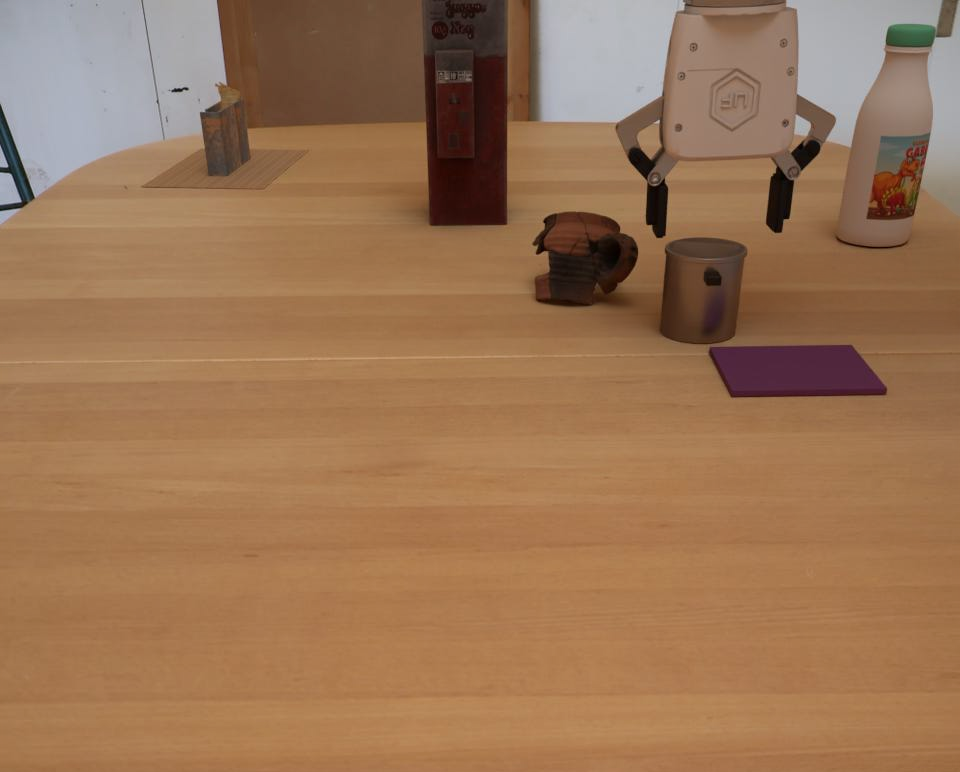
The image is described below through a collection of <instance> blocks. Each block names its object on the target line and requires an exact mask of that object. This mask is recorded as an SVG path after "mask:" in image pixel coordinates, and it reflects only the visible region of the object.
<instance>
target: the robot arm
mask: <svg viewBox="0 0 960 772" xmlns="http://www.w3.org/2000/svg"><path fill="white" fill-rule="evenodd" d="M682 2H683V3H684V4H683V5H684V6H683V7H684V8H683V10H677V11H676V12H675V14H674V18H673V24H672V27H671V31H670V36H669V42H668V46H667V53H666V59H665V67H664V74H663V81H662V92H661V95H660V96H658V97H657V98H656V99H654V100H652V101H650V102H649V103H647V104H646V105H644V106H643V107H641V108H639V109H638V110H636V111H634V112H633V113H631V114H629V115H627V116H625V118H623V119H621V120H619V121H618V122H617V123H616V124H615V127H614V128H615V129H614V130H615V133H616V135H617V137H618V139H619V142H620V145H621V147H622V149H623V151H624V153H625V155H626V158H627V160H628V161H629V163H630V164H631V166H633V168H634V169H635V170H636V171H637V172H638V173H639V174H640V175H641V176H642V178H644V180H646V200H645V201H646V203H645V224H646V226H651V230H652V233H653V234H654V236H655V238H656V239H664V237H666V234H667V220H668V218H667V217H668V203H669V201H668V200H669V186H668V185H667V184H666V177H667V176H668V175H669V174H670V172H671V171H672V170H673V168H674V167H675V166H676V165H677V164H678V162H679V161H680V162H714V161H715V162H716V161H717V162H718V161H739V160H740V161H742V160H758V159H759V160H761V159H771V161H772V162H773V164H774V166H775V172H774V173H772V175H771V176H770V180H769V187H768V188H769V189H768V199H767V206H766V216H765V224H766V226H767V227H768V228H769V230H770V231H771V232H773V233H774V234H782V232H783V229H784V221H785V220H789V219H790V218H791V211H792V203H793V194H794V187H795V186H794V185H795V181H796V180H797V179H798V178H799V177H800V176H801V172H802V171H803V170H804V169H805V168H807V166H808V165H809V164H810V163H811V162H812V161H814V159H815V158H816V157H817V156H818V155H819V154H820V153H821V150H822V147H823V145H824V144H825V142H826V140H827V139H828V137H829V136H830V134H831V132H832V130H833V129H834V127H835V125H836V123H837V118H836V116H835V115H834V114H833V113H831V112H829V111H828V110H825V108H822V107H821V106H820V105H817V104H815V103H814V102H812V101H810V100H808V99H807V98H805V97H803V96H802V95H800V94H798V85H799V83H798V82H799V48H800V47H799V41H800V40H799V20H798V18H799V17H798V10H797V8H794V7H791V6H787V0H682ZM797 116H798V117H800V118H802V119H803V120H805V121H806V122H808V123H810V129H809V131H808V133H807V135H806V137H805V138H804V139H803V140H802V141H801V142H800V143H799V144H798V145H797V146H796V147H795V148H794V149H793V150H792V151H790V149H791V147H792V145H793V142H794V137H795V136H794V135H795V129H796V117H797ZM658 121H659V123H658V124H659V125H658V129H659V130H658V137H659V143H660V147H659V149H657V151H656V152H655V153H654V154H653V156H652V157H651V158H650V157H649V156H648V155H647V154H646V153H645V152H644V150H643V149H642V148H641V145H640V143H639V140H638V135H639V133H640V132H641V131H643V130H645V129H646V128H648V127H650V126H651V125H653V124H654V123H656V122H658Z"/></svg>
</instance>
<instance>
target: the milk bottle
mask: <svg viewBox="0 0 960 772" xmlns="http://www.w3.org/2000/svg"><path fill="white" fill-rule="evenodd" d="M936 32H937V28H936V26H935V25H931V24H924V23H895V24H890V25H889V26H888V28H887V30H886V36H885V45H884V48H883V50H884V53H885V55H884V60H883V63H882V65H881V68H880V70H879V73H878V74H877V76H876V78H875V80H874V82H873V84H872V86H871V87H870V89H869V90H868V93H867V94H866V96H865V98H864V99H863V101H862V104H861V106H860V108H859V110H858V114H857V117H856V120H855V125H854V131H853V135H852V139H851V145H850V149H849V150H850V151H849V154H848V155H849V156H848V161H847V165H846V166H847V167H846V172H845V178H844V184H843V189H842V195H841V201H840V207H839V212H838V219H837V225H836V226H837V227H836V237H837V239H839V240H840V241H842V242H845V243H848V244H851V245H856V246H862V247H863V246H864V247H873V248H874V247H877V248H881V247H896V246H899V245H900V246H901V245H903V244H905V243H906V242H907V241H908V239H909V238H910V235H911V231H912V227H913V226H912V225H913V221H914V218H915V214H916V209H917V203H918V199H919V194H920V189H921V184H922V180H923V175H924V170H925V165H926V161H927V155H928V150H929V145H930V140H931V134H932V129H933V128H932V127H933V121H934V120H933V119H934V105H933V98H932V93H931V87H930V83H929V73H928V62H929V61H928V60H929V56H930V53H932V52H933V45H934V43H935V38H936V34H937V33H936Z"/></svg>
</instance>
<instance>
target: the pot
mask: <svg viewBox="0 0 960 772" xmlns="http://www.w3.org/2000/svg"><path fill="white" fill-rule="evenodd" d="M664 253H665V262H664V272H663V273H664V274H663V285H662V286H663V287H662V295H661V297H662V298H661V307H660V308H661V309H660V321H659V332H660V333H661V334H662V335H663V336H664V337H666V338H668V339H671V340H673V341H676V342H677V341H678V342H682V343H688V344H714V343H721V342H725V341H728V340H730V339H732V338H733V337H734V336H735V335H736V331H737V322H738V314H739V306H740V298H741V291H742V285H743V274H744V269H745V268H744V267H745V260H746V257H747V255H748V247H747V246H746V245H744V244H743V243H741V242H738V241H735V240H731V239H727V238H719V237H709V236H707V237H705V236H704V237H703V236H700V237H699V236H698V237H696V236H694V237H685V238H678V239H674V240H671V241H669V242H667V243H666V244H665V246H664Z"/></svg>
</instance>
